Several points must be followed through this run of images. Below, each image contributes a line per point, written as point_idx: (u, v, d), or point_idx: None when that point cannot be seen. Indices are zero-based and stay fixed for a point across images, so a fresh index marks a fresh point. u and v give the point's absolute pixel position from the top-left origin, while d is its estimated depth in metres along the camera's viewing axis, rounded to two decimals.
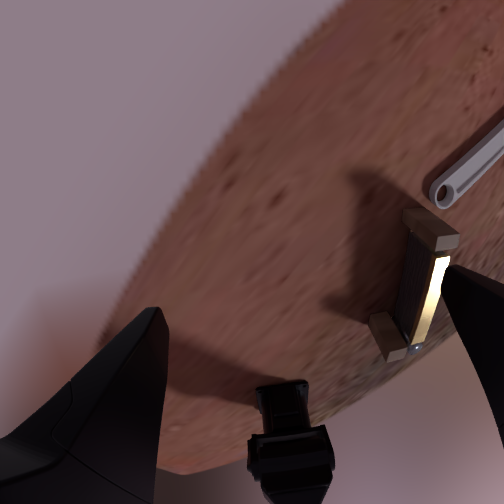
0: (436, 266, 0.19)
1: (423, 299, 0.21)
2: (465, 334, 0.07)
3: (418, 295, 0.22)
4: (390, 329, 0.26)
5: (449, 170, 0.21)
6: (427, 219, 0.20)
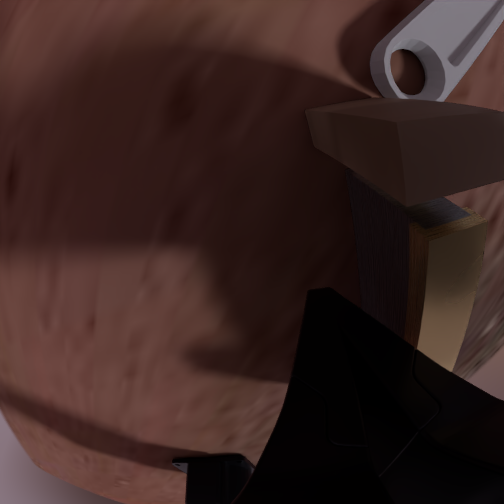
0: (435, 272, 0.04)
1: None
2: None
3: None
4: None
5: (410, 15, 0.06)
6: (369, 105, 0.06)
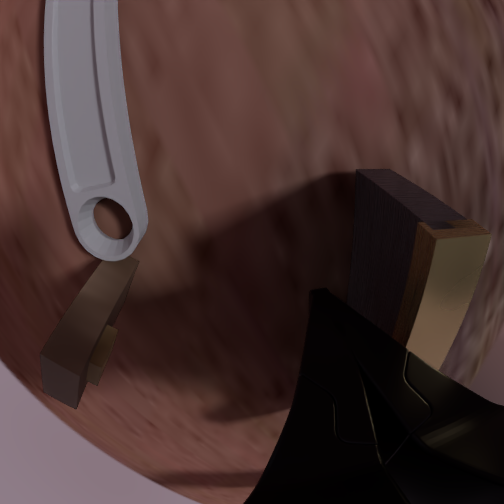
0: (437, 273, 0.04)
1: None
2: None
3: None
4: None
5: None
6: None
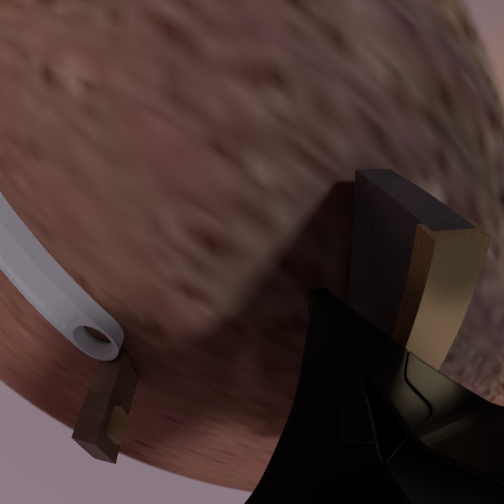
0: (436, 275, 0.04)
1: None
2: None
3: None
4: None
5: None
6: None
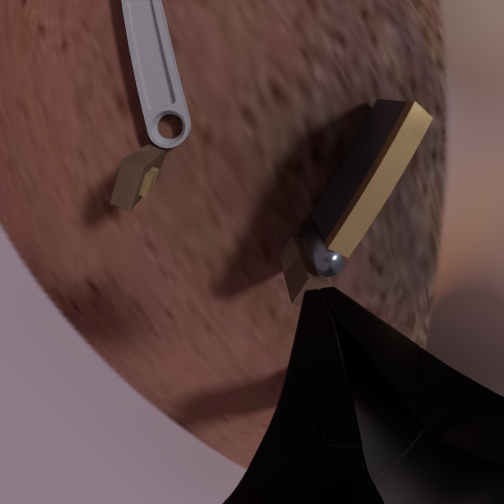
0: (412, 114, 0.12)
1: (376, 164, 0.14)
2: None
3: (366, 166, 0.15)
4: (293, 262, 0.19)
5: None
6: None
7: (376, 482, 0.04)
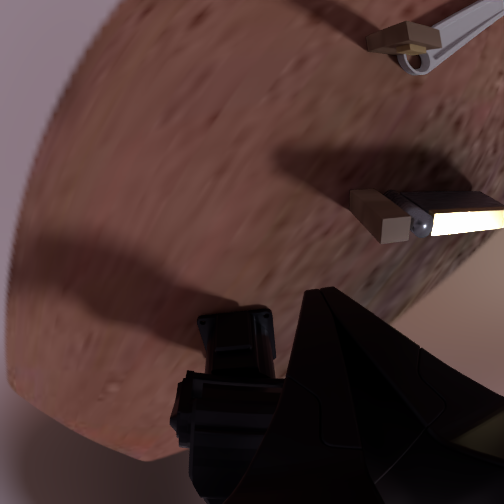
0: None
1: (482, 209, 0.16)
2: None
3: (470, 205, 0.17)
4: (380, 201, 0.18)
5: None
6: None
7: (376, 482, 0.04)
